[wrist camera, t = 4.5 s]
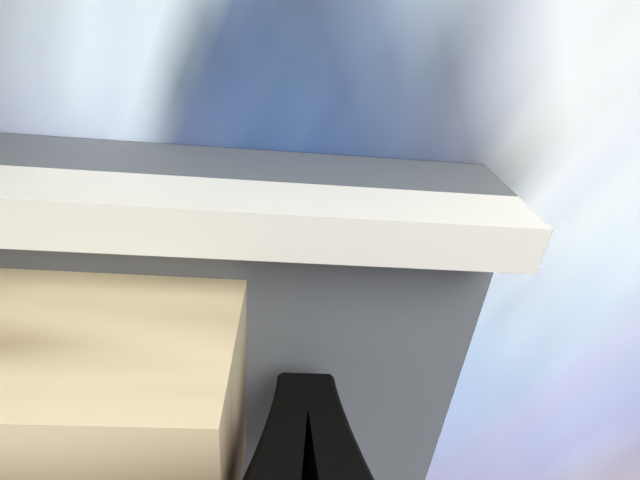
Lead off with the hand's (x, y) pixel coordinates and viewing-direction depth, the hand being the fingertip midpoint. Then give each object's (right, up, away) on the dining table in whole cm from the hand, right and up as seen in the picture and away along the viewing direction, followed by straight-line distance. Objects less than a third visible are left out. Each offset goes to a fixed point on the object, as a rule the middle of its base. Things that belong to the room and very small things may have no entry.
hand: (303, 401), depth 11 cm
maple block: (-5, +1, +1) cm, 5 cm away
